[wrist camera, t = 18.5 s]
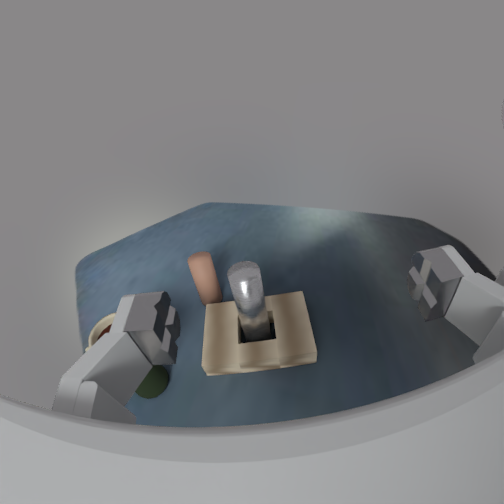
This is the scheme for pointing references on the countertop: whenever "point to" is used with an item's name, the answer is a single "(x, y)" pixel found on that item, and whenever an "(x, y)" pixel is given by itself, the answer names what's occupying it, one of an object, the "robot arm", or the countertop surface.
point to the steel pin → (250, 300)
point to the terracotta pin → (205, 277)
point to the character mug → (154, 378)
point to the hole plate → (261, 352)
